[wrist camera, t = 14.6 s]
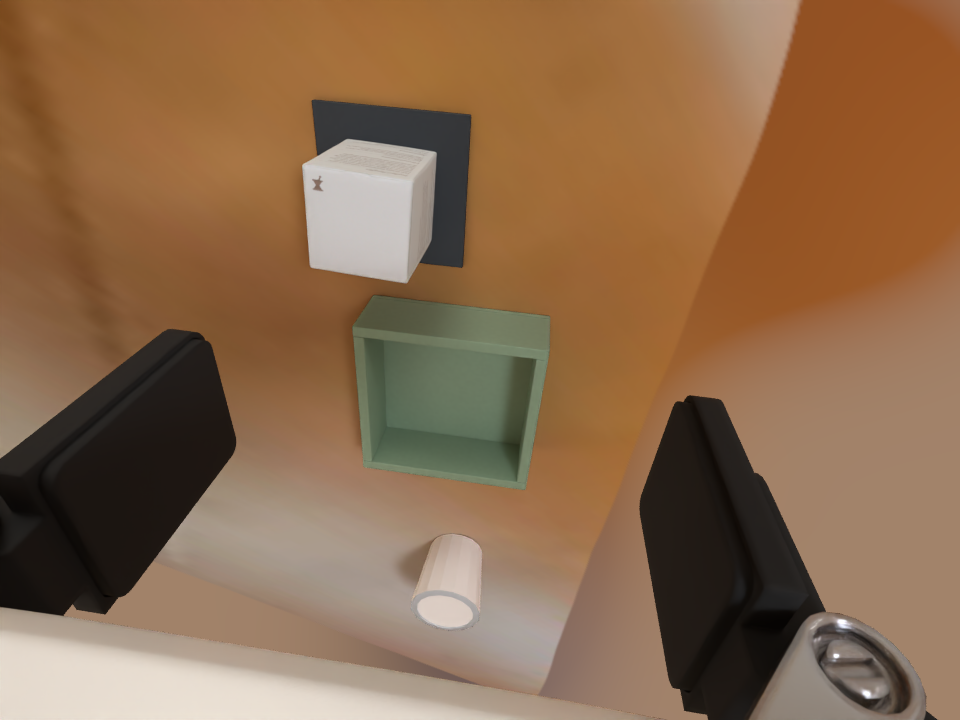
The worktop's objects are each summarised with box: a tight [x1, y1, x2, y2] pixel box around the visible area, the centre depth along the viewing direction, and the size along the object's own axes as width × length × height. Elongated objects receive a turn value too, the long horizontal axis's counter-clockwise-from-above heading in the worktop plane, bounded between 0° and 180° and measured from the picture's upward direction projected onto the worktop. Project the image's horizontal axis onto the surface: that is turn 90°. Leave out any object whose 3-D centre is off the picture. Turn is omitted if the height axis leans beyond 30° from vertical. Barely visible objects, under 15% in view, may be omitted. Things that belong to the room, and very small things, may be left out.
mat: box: [312, 100, 471, 268], centre depth 34 cm, size 10×10×1 cm
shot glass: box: [411, 534, 482, 631], centre depth 52 cm, size 7×7×7 cm
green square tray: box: [352, 295, 550, 490], centre depth 40 cm, size 14×14×5 cm
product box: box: [302, 139, 437, 283], centre depth 31 cm, size 6×6×7 cm
